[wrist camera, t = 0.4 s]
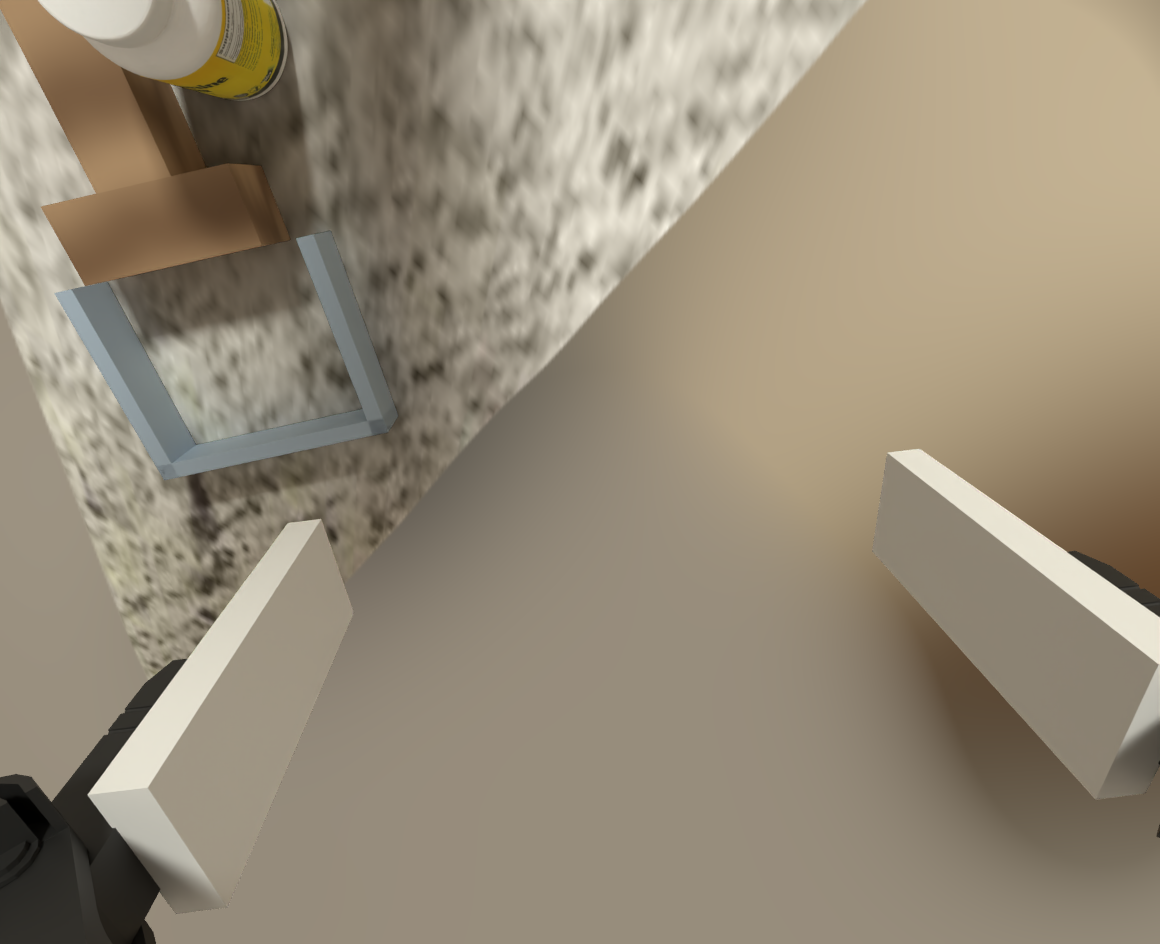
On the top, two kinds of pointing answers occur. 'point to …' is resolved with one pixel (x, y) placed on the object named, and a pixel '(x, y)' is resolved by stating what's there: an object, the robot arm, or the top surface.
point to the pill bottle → (186, 41)
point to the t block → (136, 164)
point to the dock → (180, 455)
